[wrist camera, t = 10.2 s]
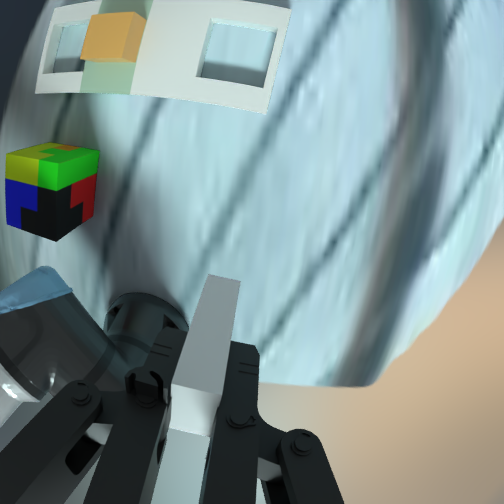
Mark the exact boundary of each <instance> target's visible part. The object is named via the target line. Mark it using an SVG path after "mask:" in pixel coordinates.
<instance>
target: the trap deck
mask: <svg viewBox="0 0 504 504" xmlns="http://www.w3.org/2000/svg"><path fill="white" fill-rule="evenodd" d="M291 11H292V9H288V8H283V7H278V6H273V5H268V4H262V3H256V2H249V1H242V0H96V1H89V2H83V3H77V4H72V5H66V6H62V7H57V8H55V9H54V12H53V15H52V18H51V22H50V25H49V29H48V32H47V36H46V40H45V44H44V48H43V52H42V57H41V61H40V66H39V72H38V77H37V83H36V89H35V94H46V93H108V94H127V95H141V96H152V97H162V98H171V99H180V100H187V101H195V102H201V103H208V104H214V105H220V106H226V107H231V108H237V109H242V110H247V111H252V112H256V113H261V114H267V109H268V105H269V101H270V97H271V93H272V88H273V84H274V80H275V76H276V72H277V68H278V64H279V60H280V56H281V52H282V48H283V44H284V40H285V36H286V32H287V28H288V24H289V20H290V16H291ZM118 12H136V13H137V14H138V15H140V16H141V17H143V18H144V19H146V20H147V21H146V24H145V28H144V32H143V35H142V39H141V43H140V47H139V51H138V55H137V59H136V63H132V62H92V61H87V60H86V61H85V66H84V70H83V72H63V73H53V68H54V64H55V59H56V54H57V50H58V46H59V42H60V38H61V34H62V30H63V27H67V26H74V25H81V24H89V22H90V19H91V16H92V15H96V14H105V13H118ZM214 23H215V24H224V25H232V26H239V27H246V28H252V29H258V30H263V31H268V32H273V33H277V35H276V39H275V43H274V47H273V51H272V55H271V59H270V63H269V67H268V71H267V75H266V79H265V83H264V87H263V88H260V87H255V86H250V85H245V84H239V83H234V82H228V81H221V80H215V79H208V78H201V73H202V69H203V65H204V60H205V56H206V52H207V48H208V45H209V41H210V37H211V33H212V29H213V26H214Z"/></svg>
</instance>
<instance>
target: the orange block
mask: <svg viewBox="0 0 504 504" xmlns="http://www.w3.org/2000/svg"><path fill="white" fill-rule="evenodd" d="M146 21H147V20H146V19H144V18H143V17H141V16H140V15H138V14H137V13H136V12H118V13H105V14H96V15H92V16H91V19H90V22H89V26H88V29H87V33H86V36H85V40H84V44H83V48H82V52H81V57H80V59H82V60H87V61H92V62H132V63H136V59H137V55H138V51H139V47H140V43H141V39H142V35H143V32H144V28H145V24H146Z"/></svg>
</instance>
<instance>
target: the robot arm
mask: <svg viewBox="0 0 504 504" xmlns="http://www.w3.org/2000/svg"><path fill="white" fill-rule="evenodd" d="M239 287H240V281H238V280H233V279H229V278H224V277H220V276H215V275H211V274H208V277H207V280H206V282H205V285H204V288H203V291H202V294H201V297H200V299H199V302H198V305H197V308H196V311H195V314H194V317H193V320H192V323H191V325H190V328H189V329H188V326H187V324H186V322H185V320H184V319H183V317H182V316H181V315H180V313H179V312H178V311H177V310H176V309H175V308H174V307H172V306H171V305H170V304H168V303H167V302H165V301H163V300H162V299H160V298H157V297H155V296H152V295H149V294H144V293H130V294H126V295H123V296H121V297H119V298H118V299H117V300H116V301H115V302H114V303H113V304H112V306H111V307H110V309H109V310H108V312H107V314H106V317H105V322H104V328H103V330H102V329H101V328H100V327H99V326H98V324H97V323H96V322H95V321H94V320H93V318H92V317H91V316H90V315H89V313H88V312H87V311H86V309H85V308H84V307H83V306H82V304H81V303H80V302H79V300H78V299H77V298H76V296H75V295H74V294H73V292H72V291H73V290H72V288H69V287H68V285H67V284H66V283H65V282H64V280H63V279H62V278H61V277H60V275H59V274H58V273H57V272H56V270H55V269H53V268H52V267H49V266H41V267H39V268H37V269H35V270H33V271H31V272H30V273H28V274H27V275H25V276H23V277H22V278H20V279H19V280H17V281H16V282H14V283H13V284H11V285H10V286H8V287H7V288H5V289H4V290H3V291H1V292H0V427H1V426H2V425H3V424H4V422H5V421H6V420H7V419H8V418H9V416H10V415H11V414H12V413H13V412H14V411H15V409H16V408H17V407H18V406H19V405H20V404H21V403H22V402H24V401H28V402H29V401H30V402H39V401H40V400H41V399H42V398H43V397H44V396H45V395H46V394H47V393H48V392H49V393H50V394H51V395H52V396H53V398H52V399H51V400H50V401H49V402H48V403H47V404H46V406H45V407H44V408H42V409H41V410H40V412H39V413H38V414H37V415H36V416H35V417H34V418H33V419H32V420H31V421H30V422H29V423H28V424H27V425H26V426H25V427H24V428H23V429H22V430H21V431H20V432H19V433H18V434H17V435H16V437H14V438H13V439H12V441H11V442H10V443H9V444H8V445H7V446H6V447H5V448H4V449H3V450H2V451H1V452H0V504H64V502H65V501H66V500H67V499H68V497H69V496H70V495H71V493H72V492H73V491H74V489H75V488H76V487H77V486H78V484H79V483H80V481H81V480H82V479H83V478H84V476H85V475H86V474H87V472H88V471H89V470H90V468H91V467H92V466H93V465H94V463H95V462H96V461H97V459H98V458H99V457H100V459H99V461H98V464H97V466H96V469H95V472H94V475H93V477H92V480H91V483H90V486H89V488H88V491H87V494H86V497H85V500H84V503H83V504H151V500H152V496H153V492H154V488H155V484H156V480H157V476H158V472H159V468H160V464H161V460H162V456H163V452H164V449H165V445H166V441H167V432H168V428H173V429H177V430H181V431H185V432H189V433H194V434H198V435H203V436H208V437H210V443H209V447H208V451H207V455H206V463H205V469H204V475H203V481H202V486H201V493H200V498H199V504H255V503H256V486H257V478H259V479H260V480H261V484H262V488H263V492H264V496H265V500H266V504H344V501H343V498H342V496H341V493H340V491H339V488H338V485H337V483H336V480H335V478H334V475H333V472H332V470H331V467H330V464H329V462H328V459H327V457H326V454H325V451H324V449H323V446H322V443H321V442H320V440H319V438H318V437H317V436H316V435H314V434H313V433H312V432H310V431H307V430H305V429H294V430H291V431H289V432H284V431H282V430H279V429H277V428H274V427H272V426H270V425H269V424H267V423H266V422H265V421H264V420H263V419H262V418H261V416H260V415H259V412H258V408H257V400H258V381H259V360H260V355H259V353H258V351H257V349H256V347H255V345H250V344H245V343H240V342H235V341H231V336H232V330H233V324H234V318H235V312H236V305H237V299H238V293H239ZM169 424H170V425H169ZM100 455H101V456H100Z"/></svg>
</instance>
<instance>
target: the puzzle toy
mask: <svg viewBox="0 0 504 504" xmlns="http://www.w3.org/2000/svg"><path fill="white" fill-rule="evenodd" d="M99 153H100V151H98V150H93V149H87V148H82V147H76V146H70V145H64V144H57V143H51V142H48V143H44V144H40V145H36V146H32V147H28V148H25V149H21V150H17V151H14V152H10V153H7V154H6V172H5V197H6V220H7V224H8V225H10V226H13V227H16V228H19V229H21V230H24V231H27V232H30V233H32V234H35V235H38V236H41V237H44V238H47V239H49V240H52V241H55V242H57V241H58V240H60V239H61V238H62V237H64V236H65V235H66V234H68V233H69V232H71V231H72V230H73V229H75V228H76V227H78V226H79V225H80V224H82V223H83V222H85V221H86V220H88V219H89V218H91V217H92V216H93V211H94V198H95V187H96V177H97V168H98V161H99Z"/></svg>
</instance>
